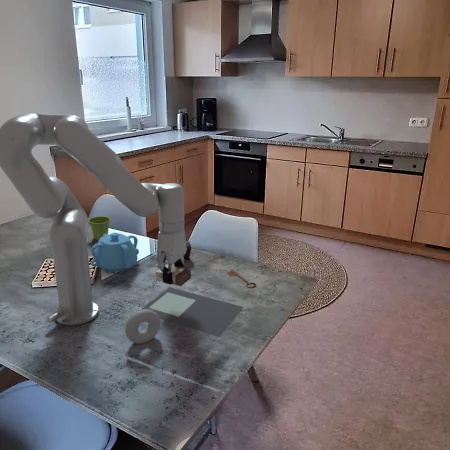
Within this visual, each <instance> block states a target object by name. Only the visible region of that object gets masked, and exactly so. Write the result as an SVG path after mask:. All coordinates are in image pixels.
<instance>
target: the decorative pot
mask: <svg viewBox="0 0 450 450" xmlns="http://www.w3.org/2000/svg"><path fill="white" fill-rule="evenodd" d="M131 239H133V242H132V240H131ZM137 246H138V237H137V236H135V235H133V234H131V235H128V236H127V235H125V234H121V233H118V232H112V233H110V234H109V233H108V234H104V235H103V236H102V237H101V238H100V239H99V240H97V243H95V244H94V245H92V247H91V249H90V252H91V253H90V254H91V255H92V257H93V259H92V260H91V262H90V264H91V266H92V267H98V268H100V269H101V270H102V271H105V272H107V273H109V274H110V275H111V274H116V273H118V272H119V273H120V272H123V271H127V270H130V269H132V268H133V267H134V266H135V265H136V264H137V263H138V255H139V253H140V251H139V249H138V248H137Z"/></svg>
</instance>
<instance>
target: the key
mask: <svg viewBox="0 0 450 450" xmlns="http://www.w3.org/2000/svg"><path fill="white" fill-rule="evenodd" d="M226 274H227V275H228V276H229V277H235V276H237V277H238V278H239V279H241V280H242V281H243V282H244V283H245V287H246V288H248V289H253V288H255V287H256V286H257V283H255V282H249V281H248V280H247V279H245V278H244V277H243V276H242V275H240V274H239V273H238V272H236V271H235V270H234V269H231V270H230V271H227V272H226ZM248 285H249V286H248ZM251 285H252V286H251Z"/></svg>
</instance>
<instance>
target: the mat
mask: <svg viewBox="0 0 450 450" xmlns="http://www.w3.org/2000/svg"><path fill="white" fill-rule="evenodd" d="M244 308H245V307H244V306H241V305H237V304H234V303H230V302H227V301H222V300H218V299H214V298H212V297H208V296H204V295H200V294H196V293H192V292H189V291H185V290H181V289H178V288H174V287H172V286H171V287H170V286H169V287H168V288H166V289H165V290H164V291H162V292H161V293H160V294H159V295H157V296H156V297H155V298H154V299H152V300H151V301H150V302H149V303H148V304H146V305H145V306H144V307H142V309H140V310H143V309H149V310H153V311H154V312H156V313H157V315H158V316H159V318H160V320H163V321H167V322H169V323H173V324H175V325H178V326H183V327H184V328H189V329H192V330H195V331H199V332H202V333H204V334H209V335H212V336H215V337H217V338H220V337H221V335H223V333H224V332H225V331H226V330H227V329H228V328H229V326H230V325H232V323H233V321H234V320H235V319H236V318H237V317H238V316H239V314H240V312H241V311H242V310H243V309H244Z"/></svg>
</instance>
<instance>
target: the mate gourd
mask: <svg viewBox="0 0 450 450" xmlns="http://www.w3.org/2000/svg"><path fill="white" fill-rule="evenodd" d="M186 247H187V251H186V253H185V257H184V261H190V259H191V258H190V256H191V252H192V251H191V250H192V245H191V242H190V240H189V239H188V238H187V239H186Z"/></svg>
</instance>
